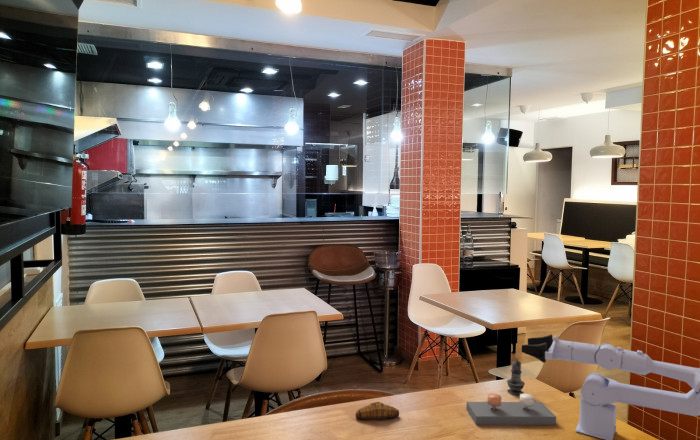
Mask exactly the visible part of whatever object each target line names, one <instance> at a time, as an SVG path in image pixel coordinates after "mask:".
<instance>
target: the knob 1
mask: <svg viewBox="0 0 700 440" xmlns="http://www.w3.org/2000/svg"><path fill="white" fill-rule="evenodd" d="M486 402H487V403H488V404H489V405H490V406H492V410H496V407H499V406H501V402H502V395H500V394H498V393H494V392H491V393H488V394H487V401H486Z"/></svg>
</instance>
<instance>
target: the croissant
mask: <svg viewBox="0 0 700 440" xmlns="http://www.w3.org/2000/svg"><path fill="white" fill-rule="evenodd" d="M354 416H355V418H356V419H358V420H359V419H360V420H366V421H367V420H372V421H382V420H387V419H389V420H390V419H394V418H397V417H399V416H400V411H399V409H397V408H396V407H394V406H391V405H388V404H385V403H382V402H381V401H375V402H371V403H369V404H368V405H364V406H362V407H361V408H359V409H358V410H357V411H355V415H354Z"/></svg>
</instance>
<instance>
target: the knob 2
mask: <svg viewBox="0 0 700 440" xmlns="http://www.w3.org/2000/svg"><path fill="white" fill-rule="evenodd" d="M534 399H535V397H534V395H532V394H531V393H524V394H520V396H519V402H520V404H521V405H523V406H525V410H528V407H532V406H533V405H534V402H535V400H534Z"/></svg>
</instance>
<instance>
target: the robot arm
mask: <svg viewBox="0 0 700 440" xmlns="http://www.w3.org/2000/svg"><path fill="white" fill-rule="evenodd" d="M521 352H522V354H525V355H529V356H531V357H533V358H535V359H537V360H538V361H540V362H541V363H544V364H546V362H547V360H550V361H552V360H555V361H557V360H559V361H560V360H561V361H567V362H574V363H580V364H588V365H597V366H599V367H601V368H603V369H604V370H605V369H606V370H608V371H612V370H614V369H618V370H621V371H624V372H630V373H633V374H638V375H642V376H646V375H647V374H651V373H652V374H656V375H660V376H663V377H667V378H671V379H675V380H678V381H682V382H683V383H684V382H685V383H687V385H688V386H690V387H691V390H689V391H688V392H687V393H684V392H683V393H681V392H676V391H670V390H664V389H657V388H651V387H645V386H640V385H634V384H628V383H622V382H618V381H617V380H615V379H613V378H608V377H605V376H604V375H602V374H600V373H596V372H593V373H589V374H588V375H587V376H585V378H584V379H585V380H584V383H583V385H581V388H580V394H581V395H580V399H579V400H580V401H579V417H578V423H577V425H576V427H575V429H574V431H575V432H576V433H581V434H583V435H587V436H591V437H593V438H599V439H602V440H613V439H614V436H615V433H616V431H617V405H615V404H616V403H621V404H627V405H632V406H637V407H644V408H648V409H654V410H659V411H660V410H661V411H665V412H670V413H674V414H675V413H676V414H680V415H681V414H682V415H687V416H692V417H698V416H700V367H694V366H693V367H692V366H688V365H687V366H686V365H682V364H676V363H671V362H665V361H659V360H653V359H652V358H651V357H650V356H649V355H648V354H647V353H644V352H643V351H642V350H639V349H637V351H634V350H629V349H624V348H622V347H621V346H617V347H616V346H614V345H612V344H610V343H609V342H603V343H602V344H592V343H589V342H588V343H587V342H579V341H571V340H563V339H559V338H558V335H554V336H553V334H548V335H545V336H540V337H537V336H536V337H529V338H527V344H521Z"/></svg>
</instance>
